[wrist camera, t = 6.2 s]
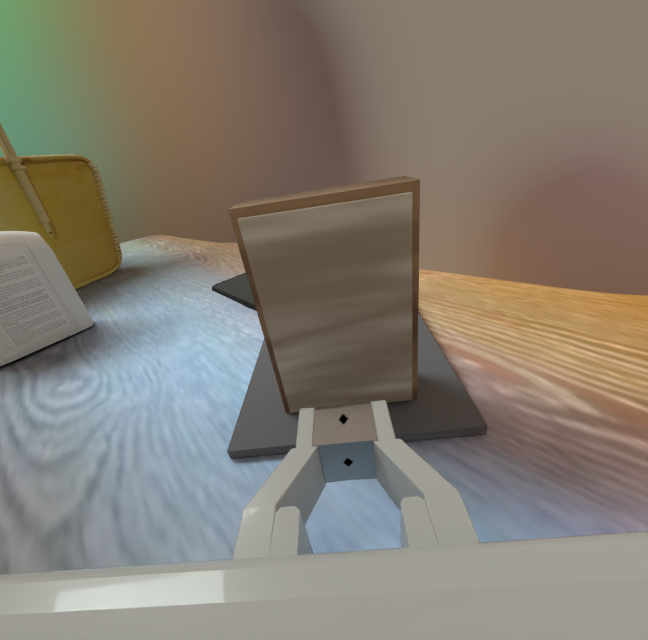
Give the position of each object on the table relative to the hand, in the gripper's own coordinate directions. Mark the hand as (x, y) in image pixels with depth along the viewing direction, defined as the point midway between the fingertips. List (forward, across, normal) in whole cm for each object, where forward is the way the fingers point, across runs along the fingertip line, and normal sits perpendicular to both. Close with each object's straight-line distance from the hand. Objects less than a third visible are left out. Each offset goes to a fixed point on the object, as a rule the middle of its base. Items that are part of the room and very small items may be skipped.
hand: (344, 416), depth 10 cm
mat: (+13, 0, +6) cm, 14 cm away
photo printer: (+21, +34, +6) cm, 40 cm away
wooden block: (+7, 0, +5) cm, 9 cm away
